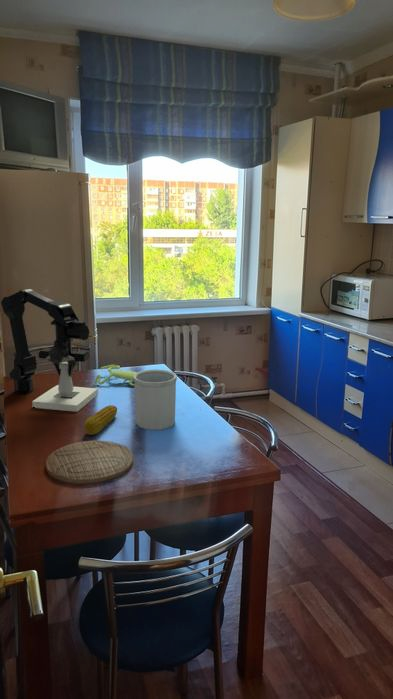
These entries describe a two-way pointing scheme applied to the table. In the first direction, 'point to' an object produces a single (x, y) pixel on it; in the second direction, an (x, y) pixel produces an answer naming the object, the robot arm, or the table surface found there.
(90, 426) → the food
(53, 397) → the socket board
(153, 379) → the utensil holder
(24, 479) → the table surface
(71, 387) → the salt shaker
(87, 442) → the trivet
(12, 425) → the table surface
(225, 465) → the table surface
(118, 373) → the figurine
